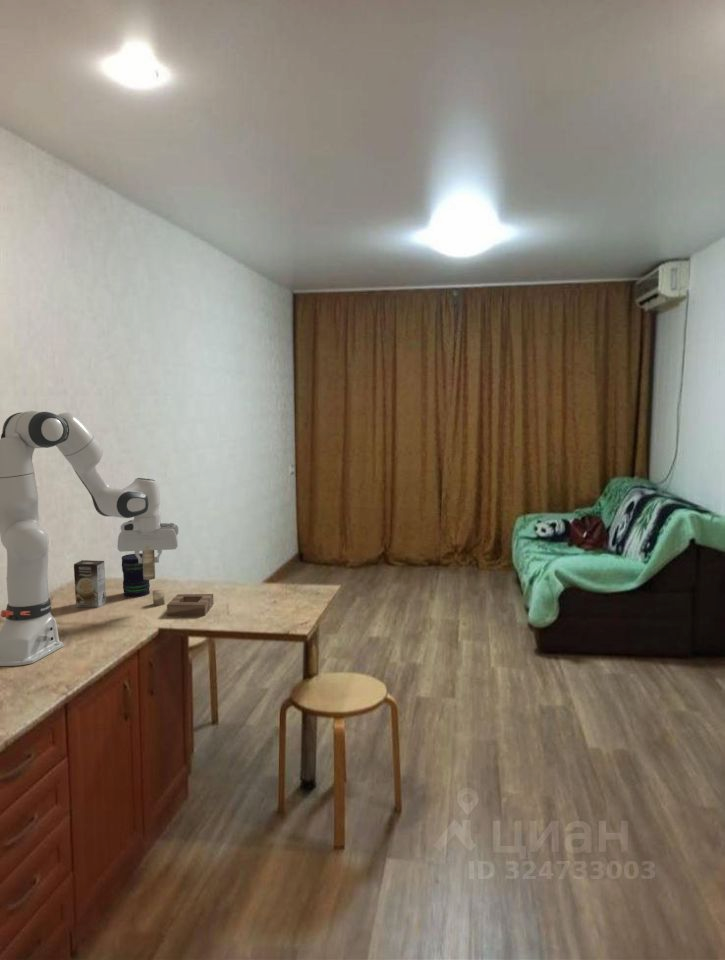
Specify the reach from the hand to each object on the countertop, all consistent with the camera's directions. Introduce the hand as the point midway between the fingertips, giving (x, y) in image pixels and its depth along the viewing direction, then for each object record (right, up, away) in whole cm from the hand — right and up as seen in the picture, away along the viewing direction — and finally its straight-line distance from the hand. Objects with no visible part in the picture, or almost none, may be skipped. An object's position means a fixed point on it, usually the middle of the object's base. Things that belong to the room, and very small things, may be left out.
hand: (148, 562), depth 241 cm
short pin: (+1, -16, +10) cm, 19 cm away
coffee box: (-24, -17, +11) cm, 32 cm away
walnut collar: (+14, -17, +2) cm, 22 cm away
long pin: (0, -6, +1) cm, 6 cm away
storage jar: (-12, -15, +24) cm, 31 cm away
